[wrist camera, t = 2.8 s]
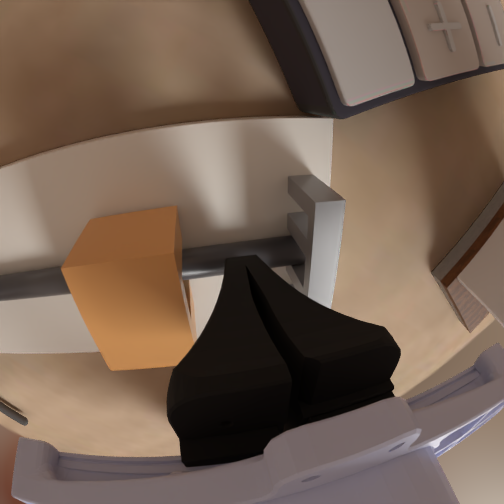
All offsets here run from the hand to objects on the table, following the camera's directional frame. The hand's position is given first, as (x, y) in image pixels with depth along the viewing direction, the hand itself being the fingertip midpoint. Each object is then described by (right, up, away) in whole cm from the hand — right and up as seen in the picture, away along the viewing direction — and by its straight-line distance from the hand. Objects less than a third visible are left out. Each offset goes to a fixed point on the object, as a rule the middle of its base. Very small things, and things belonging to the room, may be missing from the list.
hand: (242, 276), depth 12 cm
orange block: (-5, 0, +1) cm, 5 cm away
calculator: (+7, +15, -3) cm, 17 cm away
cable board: (-8, +1, +2) cm, 8 cm away
